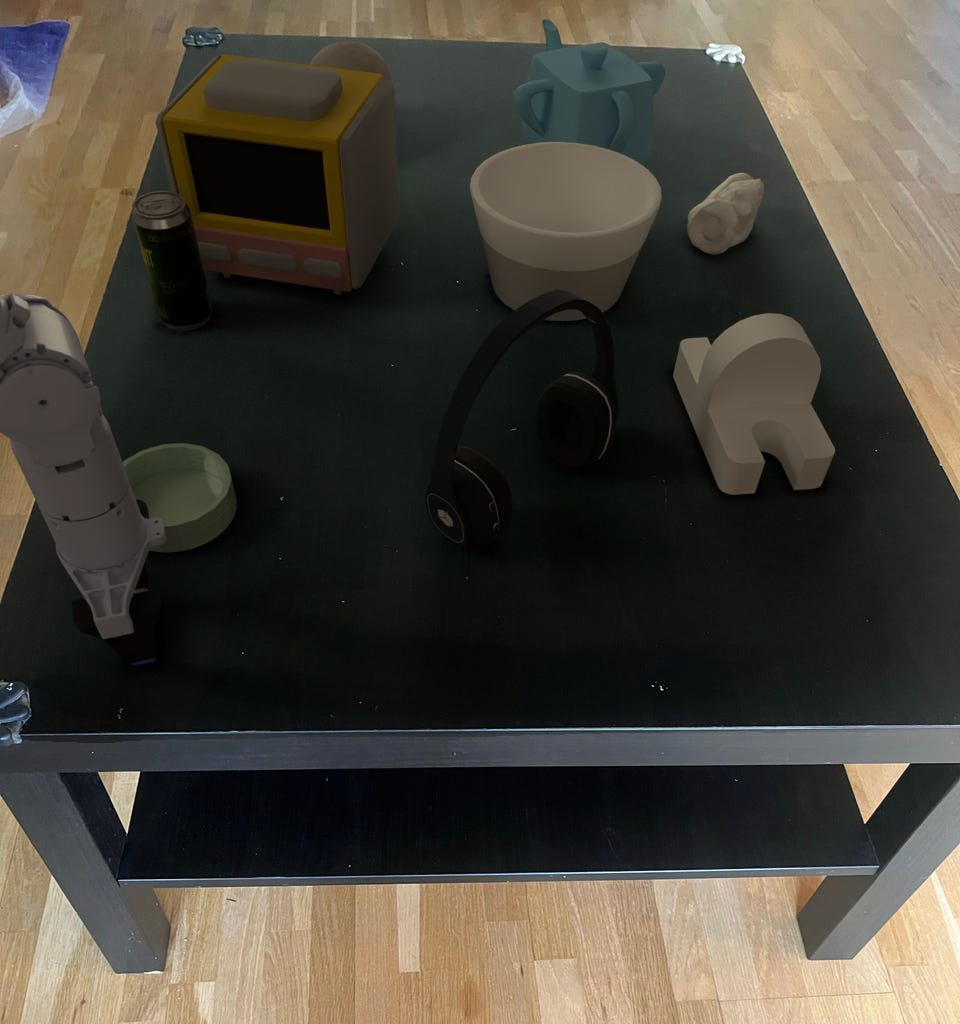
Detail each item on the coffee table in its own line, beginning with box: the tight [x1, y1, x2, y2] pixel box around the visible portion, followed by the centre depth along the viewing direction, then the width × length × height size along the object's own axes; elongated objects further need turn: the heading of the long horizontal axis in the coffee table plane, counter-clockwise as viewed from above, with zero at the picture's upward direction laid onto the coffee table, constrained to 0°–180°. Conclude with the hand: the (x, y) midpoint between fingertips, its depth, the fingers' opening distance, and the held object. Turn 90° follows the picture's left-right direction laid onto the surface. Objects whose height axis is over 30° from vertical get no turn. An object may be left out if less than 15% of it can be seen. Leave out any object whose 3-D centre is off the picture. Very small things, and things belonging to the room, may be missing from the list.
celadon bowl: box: [122, 442, 238, 553], centre depth 80 cm, size 10×10×3 cm
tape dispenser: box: [672, 312, 836, 496], centre depth 86 cm, size 10×18×11 cm, turn 7°
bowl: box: [469, 142, 663, 322], centre depth 100 cm, size 19×19×11 cm
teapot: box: [512, 18, 666, 168], centre depth 115 cm, size 18×16×14 cm
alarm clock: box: [155, 53, 401, 295], centre depth 98 cm, size 20×16×18 cm
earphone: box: [424, 289, 620, 547], centre depth 76 cm, size 20×7×18 cm, turn 137°
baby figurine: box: [686, 172, 765, 255], centre depth 109 cm, size 9×12×8 cm
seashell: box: [308, 40, 393, 83], centre depth 120 cm, size 15×14×15 cm
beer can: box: [131, 190, 213, 332], centre depth 94 cm, size 5×5×12 cm
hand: (137, 623), depth 72 cm, fingers closed on eraser, 6 cm apart
